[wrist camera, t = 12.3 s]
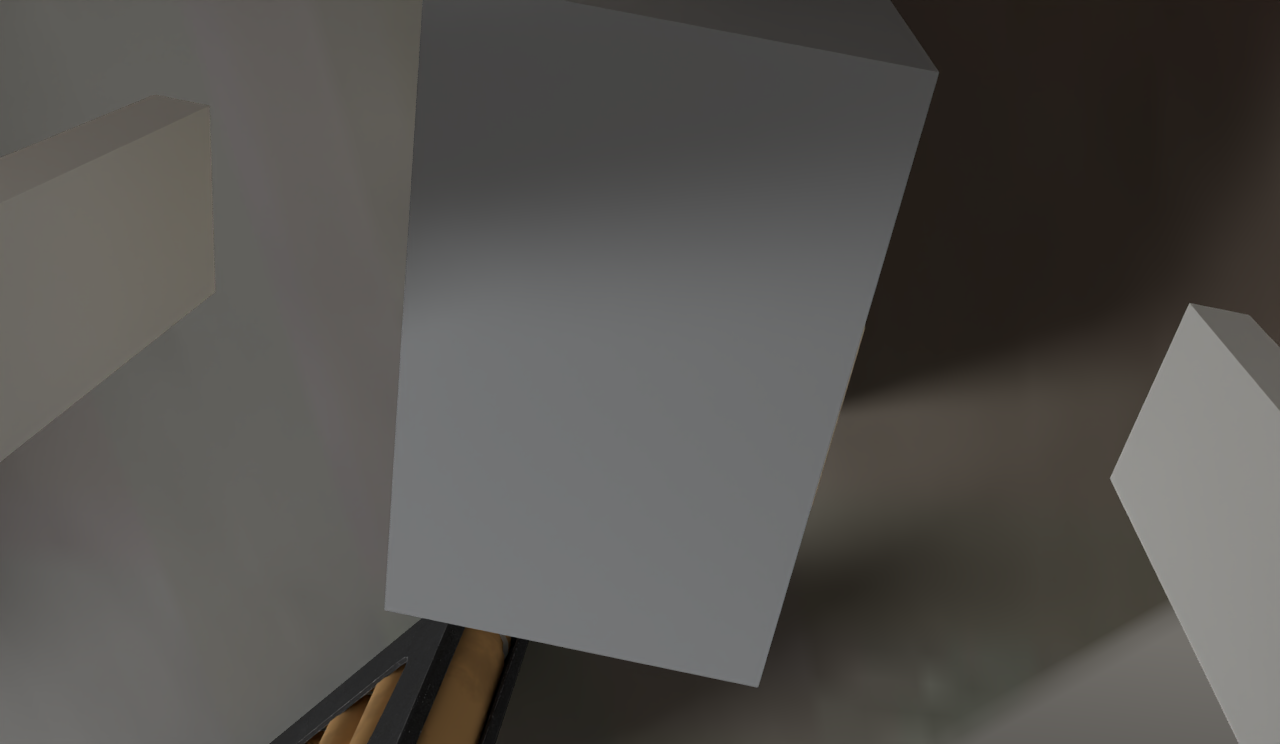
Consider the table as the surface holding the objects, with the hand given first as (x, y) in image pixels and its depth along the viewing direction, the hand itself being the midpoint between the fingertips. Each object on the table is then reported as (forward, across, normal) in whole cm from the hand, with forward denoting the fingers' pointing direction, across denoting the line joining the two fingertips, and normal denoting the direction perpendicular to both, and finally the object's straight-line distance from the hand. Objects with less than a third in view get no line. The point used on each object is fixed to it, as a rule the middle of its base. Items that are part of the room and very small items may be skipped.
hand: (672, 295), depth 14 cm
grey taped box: (+4, 0, 0) cm, 4 cm away
